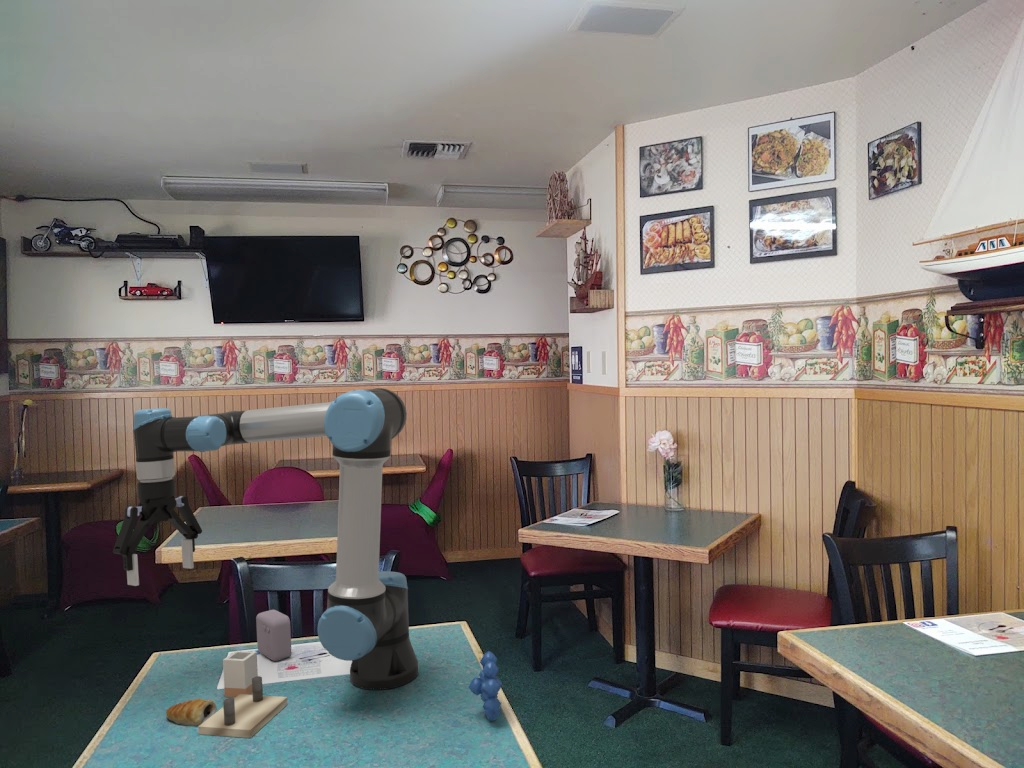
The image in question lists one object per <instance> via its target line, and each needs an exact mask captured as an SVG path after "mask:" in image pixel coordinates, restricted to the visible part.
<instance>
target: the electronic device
mask: <svg viewBox="0 0 1024 768" xmlns="http://www.w3.org/2000/svg"><path fill="white" fill-rule="evenodd" d="M255 620H256V621H255V622H256V623H255V624H256V625H255V626H256V641H257V643H256V644H257V652H258V653H260V654H261V655H263V656H265V657H266V658H268V659H270V660H271V661H274V662H278V661H281V660H285V659H287V658H290V657H291V656H292V634H291V632H292V631H291V620H290V618H289V616H288V615H286V614H284V613H283V612H280V611H278V610H276V609H275V608H273V609H270V610H266V611H262V612H259V613H258V614H257V615H256V617H255Z"/></svg>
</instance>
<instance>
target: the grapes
mask: <svg viewBox="0 0 1024 768" xmlns="http://www.w3.org/2000/svg"><path fill="white" fill-rule="evenodd" d="M497 661H498V658H497V657H496V655H495V654H494V653H493V652H491V651H489V650H487V651H486V652H485V653H484V654H483V655H482V657H481V659H480V661H479V663H480V664H481V666H482V669H481V671H479V674H478V676H479V677H476V676H475V677H474V678H473V679H472V680H471V682H470V684H469V685H468V689H469V690H470V691H471V692H472V694H473V695H475V696H479V697H480V700H482V702H484V704H483V705H482V709H483V710H484V711H483V713H484V715H485V716H486V718H487V719H488V720H489V721H492V722H494V721H496V720H497V718H498V717H499V716H500V714H501V711H502V710H501V709H500V707H501V705H502V702H501V701H500V700H499V698H498V695H499V691H500V690H501V688H502V687H503V683H502V680H500V678H498V677H497V674H498V673H499V671H500V669H499V667H498V666H497V665H496V664H497Z"/></svg>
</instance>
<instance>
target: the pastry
mask: <svg viewBox="0 0 1024 768" xmlns="http://www.w3.org/2000/svg"><path fill="white" fill-rule="evenodd" d="M165 711H166V717H167V718H168V720H169V721H170V722H174V723H175V724H177V725H183V726H184V725H185V726H189V727H190V726H192V727H195V726H196V727H198V726H199V725H201V724H202V723H203V722H204V721H206V720H207V719H208V718H210V717H211V716H212V715H213V714H215V713H216V712H217V704H216V702H215V701H214V700H212V699H209V700H207V699H201V698H195V699H192V700H184V701H183V702H179V703H177V704H174V705H171V706H170V707H169V708H167V709H166V710H165Z"/></svg>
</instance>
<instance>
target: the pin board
mask: <svg viewBox="0 0 1024 768" xmlns="http://www.w3.org/2000/svg"><path fill="white" fill-rule="evenodd" d="M263 688H264V687H263V677H262V676H261V675H258V676H257V677H254V678H252V694H250V695H246V694H239V695H238V696H236V697H226V698H225V699H223V702H222V704H223V705H222V707H221V708H220V709H219V710H218V709H217V710H216V713H215V714H213V715H212V716H211V717H210V718H208V719H207V720H206V721H204V722H203V723H202V724H201V725H198V726H197V727H198V728H197V730H198V735H203V736H204V735H207V736H218V737H219V736H220V737H229V738H230V737H233V738H245V739H247V738H248V739H251V738H253V736H254V735H256V734H257V733H258V732H259V730H261V729H262V728H263V727H265V725H266V724H267V723H269V721H271V720H272V719H273V718H274V717H276V716H277V715H278V714H279V712H281V711H282V710H283V709H284V708H285V707H286V706H287V705H288V697H287V696H277V695H276V696H275V695H264V693H263V692H264V691H263Z"/></svg>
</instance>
